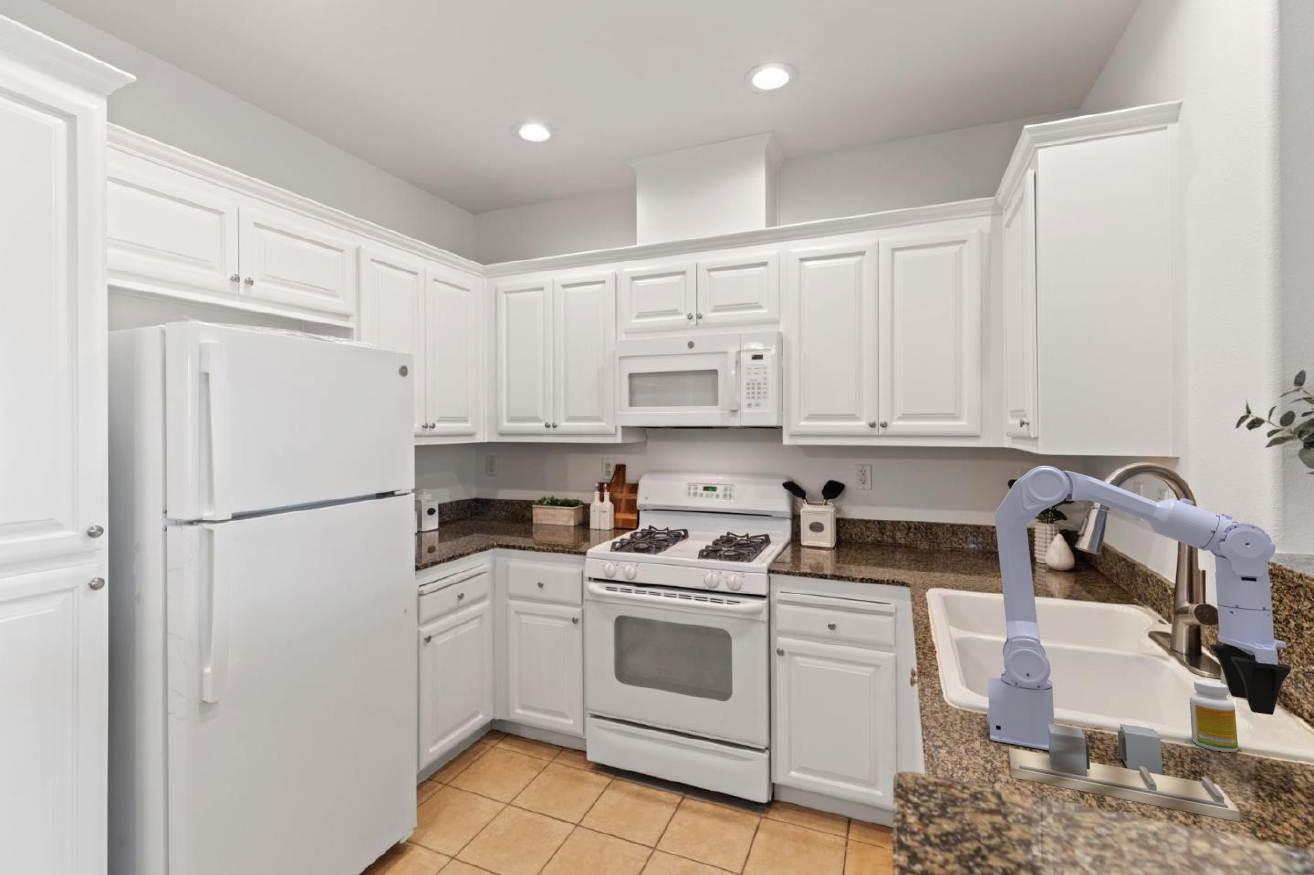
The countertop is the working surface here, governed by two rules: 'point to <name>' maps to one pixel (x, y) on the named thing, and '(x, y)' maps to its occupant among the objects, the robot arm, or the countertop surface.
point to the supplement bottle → (1213, 717)
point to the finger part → (1140, 748)
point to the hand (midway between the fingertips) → (1251, 704)
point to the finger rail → (1116, 777)
